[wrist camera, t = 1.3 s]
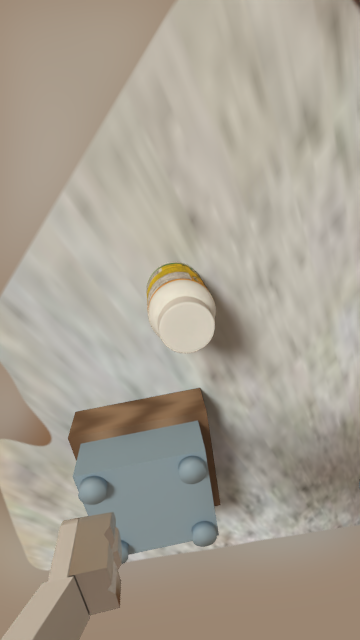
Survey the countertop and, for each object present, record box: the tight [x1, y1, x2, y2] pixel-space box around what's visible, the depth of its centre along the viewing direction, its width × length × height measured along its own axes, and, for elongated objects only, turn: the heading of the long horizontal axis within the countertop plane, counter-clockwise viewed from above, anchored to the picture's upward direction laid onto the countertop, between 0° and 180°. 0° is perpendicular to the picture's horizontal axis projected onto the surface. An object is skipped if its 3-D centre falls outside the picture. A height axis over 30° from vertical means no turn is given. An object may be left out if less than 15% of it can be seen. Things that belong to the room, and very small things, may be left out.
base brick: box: [68, 388, 220, 506], centre depth 37 cm, size 14×14×4 cm
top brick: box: [73, 421, 219, 564], centre depth 32 cm, size 12×12×5 cm
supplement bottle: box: [147, 262, 216, 353], centre depth 27 cm, size 5×5×10 cm
